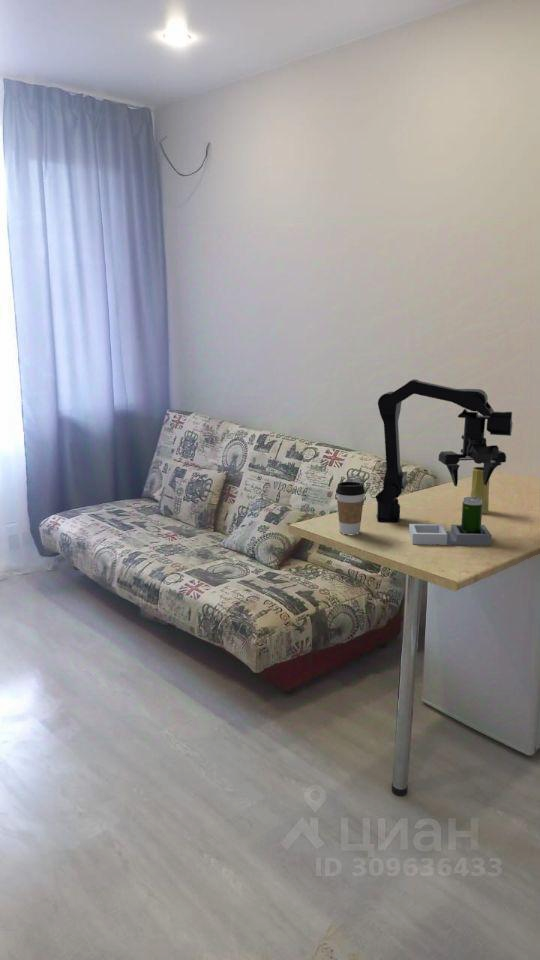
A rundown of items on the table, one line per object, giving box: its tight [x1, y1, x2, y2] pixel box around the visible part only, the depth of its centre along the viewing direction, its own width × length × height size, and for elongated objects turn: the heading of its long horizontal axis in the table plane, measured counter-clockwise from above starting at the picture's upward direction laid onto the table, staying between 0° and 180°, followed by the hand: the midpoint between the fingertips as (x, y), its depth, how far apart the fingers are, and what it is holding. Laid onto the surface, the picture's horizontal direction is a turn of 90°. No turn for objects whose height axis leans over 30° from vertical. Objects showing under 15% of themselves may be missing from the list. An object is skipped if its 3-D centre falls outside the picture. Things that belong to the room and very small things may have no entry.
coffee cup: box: [335, 481, 366, 535], centre depth 205 cm, size 8×8×15 cm
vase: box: [470, 466, 490, 515], centre depth 224 cm, size 6×6×14 cm
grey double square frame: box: [408, 523, 492, 546], centre depth 199 cm, size 21×9×3 cm, turn 85°
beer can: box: [460, 496, 483, 534], centre depth 197 cm, size 5×5×12 cm
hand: (470, 485), depth 207 cm, fingers open, 9 cm apart
